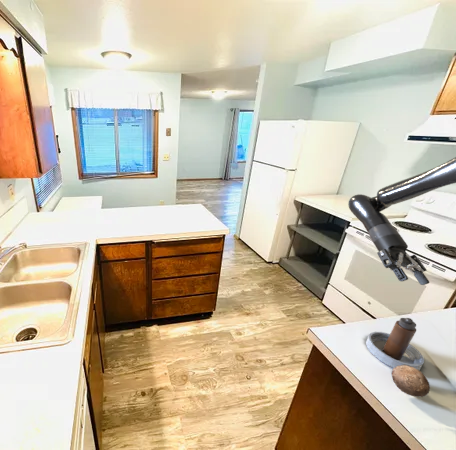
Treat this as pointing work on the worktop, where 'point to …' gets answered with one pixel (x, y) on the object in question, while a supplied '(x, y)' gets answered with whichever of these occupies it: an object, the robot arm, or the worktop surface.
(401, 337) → the pepper mill
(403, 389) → the brown oval lump
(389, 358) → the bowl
